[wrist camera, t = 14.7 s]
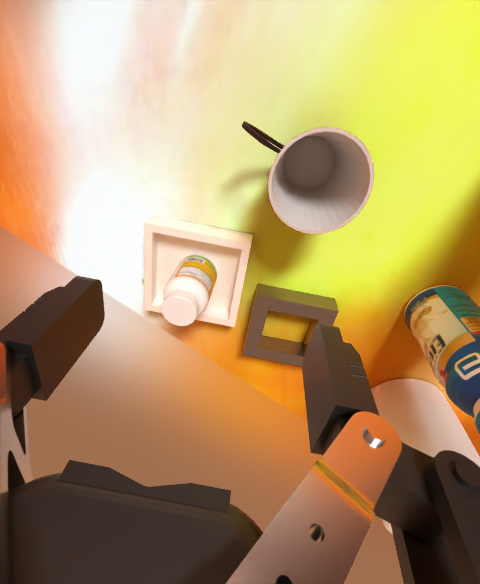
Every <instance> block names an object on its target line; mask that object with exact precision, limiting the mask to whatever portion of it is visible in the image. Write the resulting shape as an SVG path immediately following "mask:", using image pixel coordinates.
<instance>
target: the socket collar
mask: <svg viewBox="0 0 480 584" xmlns="http://www.w3.org/2000/svg"><path fill="white" fill-rule="evenodd" d="M268 310H270V311H275V312H280V313H285V314H290V315H296V316H301V317H306V318H311V319H312V321H311V324H310V326H309V329H308V332H307V334H306V337H305V340H304V342H303V343H299V342H293V341H288V340H283V339H278V338H273V337H268V336H262V331H263V328H264V324H265V320H266V317H267V313H268ZM337 314H338V308H337V304H336V301H335V299H334V298H329V297H324V296H319V295H313V294H308V293H303V292H298V291H293V290H288V289H283V288H278V287H272V286H267V285H262V284H257V289H256V293H255V297H254V302H253V306H252V310H251V314H250V319H249V323H248V327H247V331H246V336H245V340H244V346H243V354H242V355H244V356H249V357H254V358H260V359H265V360H270V361H275V362H280V363H286V364H291V365H296V366H301V367H302V366H303V358H304V354H305V351H306V349H307V346H308V344H309V341H310V339H311V336H312V333H313V331H314V328H315V326H316V324H318V323H319V324H324V325H330V326H332V325H333V323H334V321H335V318H336V316H337Z"/></svg>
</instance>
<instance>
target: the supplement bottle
mask: <svg viewBox="0 0 480 584" xmlns="http://www.w3.org/2000/svg"><path fill="white" fill-rule="evenodd" d="M216 279H217V269H216V267H215V265H214V263H213V262H212V261H211V260H210V259H209V258H207V257H205V256H203V255H199V254H192V255H188V256H186V257H185V258H183V259H182V260H181V262H180V263H179V265H178V266H177V268H176V270H175V271H174V273H173V275H172V276H171V278H170V279H169V281H168V283H167V284H166V286H165V288H164V292H163V299H164V301H163V303H162V306H161V311H162V314H163V316H164V318H165V319H166V320H167V321H168V322H170V323H171V324H174V325H177V326H187V325H190V324H191V323H193V322H194V320H195V319H196V317H197V316H198V315H200V314H201V313H202V312H203V311H204V310H205V309H206V307H207V305H208V302H209V299H210V297H211V294H212V291H213V288H214V285H215V282H216Z"/></svg>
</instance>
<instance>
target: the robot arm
mask: <svg viewBox="0 0 480 584" xmlns="http://www.w3.org/2000/svg"><path fill="white" fill-rule="evenodd" d="M103 321H104V302H103V291H102V283H101V281H100V280H96V279H91V278H86V277H81V276H76V277H75V278H74V279H73V280H71V281H70V282H69V283H68V284H67V285H66V286H65V287H57V288H55V289H53V290H51V291H48V292H46V293H44V294H43V295H42V296H41V297H40V298H38V299H37V300H36V301H35V302H34V304H31V305H30V306H29V307H28V308H27V309H26V310H25V312H24V311H23V312H22V313H21V314H20V315H18V316H17V317H16V318H15V319H14V320H13V321H11V322H10V323H9V324H8V325H7V326H5V327H4V328H3V329H2V330H1V331H0V584H344V582H345V580H346V578H347V576H348V573H349V571H350V569H351V567H352V565H353V563H354V561H355V558H356V556H357V554H358V552H359V550H360V548H361V546H362V544H363V541H364V539H365V537H366V535H367V533H368V531H369V529H370V526H371V524H372V522H373V520H374V517H375V515H376V516H378V517H380V518H381V519H383V520H385V521H387V522H389V523H390V524H391V528H392V532H393V537H394V541H395V545H396V550H397V554H398V559H399V563H400V568H401V573H402V577H403V582H404V584H480V467H479V466H478V465H477V464H476V463H474V462H473V461H472V460H470V459H469V458H468V457H466V456H464V455H462V454H460V453H458V452H455V451H451V450H443V451H440V452H439V453H438V454H437V455H436V456H435V457H434V458H433V457H431V456H429V455H427V454H425V453H423V452H421V451H419V450H417V449H415V448H413V447H411V446H408V445H407V444H405V443H403V442H402V441H401V440H400V437H399V435H398V433H397V432H396V430H395V429H394V428H393V426H392V425H391V424H390V423H389V422H388V421H386V420H385V419H384V418H382V417H380V415H379V412H378V409H377V406H376V403H375V400H374V397H373V394H372V391H371V388H370V385H369V382H368V379H366V377H367V376H366V373H365V370H364V369H363V364H362V361H361V358H360V355H359V353H358V352H357V351H356V350H355V348H354V347H353V346H352V345H351V344H350V343H345V342H343V340H342V336H341V333H340V329H339V328H338V327H335V326H330V325H324V324H319V323H318V324H316V326H315V328H314V331H313V333H312V336H311V339H310V341H309V344H308V346H307V349H306V351H305V354H304V358H303V366H302V369H303V380H304V390H305V400H306V410H307V420H308V429H309V440H310V449H311V453H316V454H321V455H322V458H321V459H320V460H319V462H318V461H317V462H316V463H315V464H314V466H313V467H312V468H311V470H310V471H309V472H308V474H307V475H306V477H305V478H304V479H303V480H302V482H301V483H300V484H299V486H298V487H297V489H296V490H295V491H294V492H293V494H292V495H291V497H290V498H289V499H288V501H287V502H286V503H285V505H284V506H283V507H282V509H281V510H280V511H279V513H278V514H277V515H276V517H275V518H274V519H273V521H272V522H271V523H270V525H269V526H268V527H267V529H266V530H265V532H264V533H263V532H262V531H261V529H260V528H259V527H258V526H257V525H256V523H255V522H254V521H253V520H252V519H251V518H250V517H249V516H247V514H246V513H244V512H243V511H241V510H240V509H239V508H237V507H236V506H234V505H232V504H230V494H231V491H230V490H225V489H219V488H214V487H209V486H203V485H199V484H193V483H188V484H177V485H166V486H156V487H146V486H143V485H141V484H139V483H137V482H136V481H134V480H132V479H130V478H128V477H126V476H124V475H122V474H120V473H118V472H117V471H115V470H113V469H111V468H109V467H104V466H98V465H93V464H88V463H82V462H77V461H72V460H69V462H68V463H67V465H66V467H65V469H64V470H63V472H62V473H57V474H53V475H48V476H44V477H41V478H38V479H35V480H33V476H32V472H31V467H30V457H29V443H28V429H27V416H26V408H25V405H26V404H27V403H28V402H29V401H30V399H31V398H34V399H40V400H45V401H46V400H47V399H48V398H49V396H50V395H51V394H52V392H53V391H54V390H55V388H56V387H57V386H58V385H59V383H60V382H61V381H62V379H63V378H64V377H65V375H66V374H67V373H68V371H69V370H70V369H71V367H72V366H73V365H74V363H75V362H76V361H77V360H78V358H79V357H80V356H81V354H82V353H83V352H84V350H85V349H86V348H87V346H88V345H89V343H90V342H91V341H92V340H93V338H94V337H95V336H96V334H97V333H98V332H99V330H100V328H101V327H102V324H103Z"/></svg>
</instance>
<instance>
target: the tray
mask: <svg viewBox="0 0 480 584" xmlns="http://www.w3.org/2000/svg"><path fill="white" fill-rule="evenodd" d="M252 238H253V234H249V233H244V232H239V231H234V230H228V229H223V228H218V227H213V226H208V225H203V224H198V223H193V222H188V221H183V220H178V219H173V218H167V217H162V216H157V215H152V216H151V217H150V218H148V219H147V220H146V221H145V222H144V310H148V311H154V312H159V313H162V311H161V306H162V303H163V301H164V299H163V292H164V288H165V286H166V284H167V283H168V281H169V279H170V278H171V276H172V275H173V273H174V271H175V270H176V268H177V266H178V265H179V263H180V262H181V260H182V259H183V258H185V257H186V256H188V255H192V254H199V255H203V256H205V257H207V258H209V259H210V260H211V261H212V262H213V263H214V265H215V267H216V269H217V279H216V282H215V285H214V288H213V291H212V294H211V297H210V299H209V302H208V305H207V307H206V309H205V310H204V311H203V312H202V313H201V314H200V315H198V316H197V317H196V319H195V320H200V321H205V322H210V323H215V324H221V325H226V326H231V327H235V322H236V318H237V313H238V308H239V303H240V298H241V293H242V288H243V283H244V278H245V273H246V269H247V264H248V259H249V254H250V249H251V244H252Z"/></svg>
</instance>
